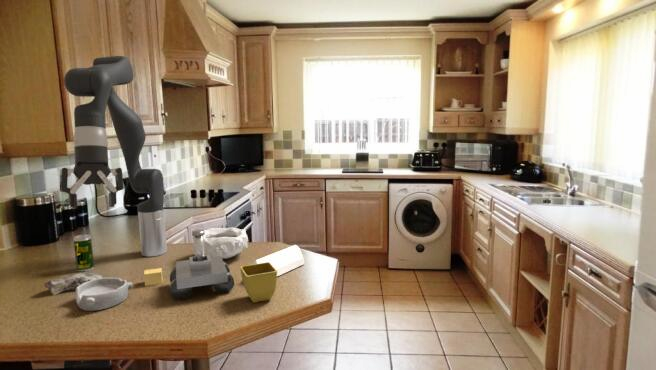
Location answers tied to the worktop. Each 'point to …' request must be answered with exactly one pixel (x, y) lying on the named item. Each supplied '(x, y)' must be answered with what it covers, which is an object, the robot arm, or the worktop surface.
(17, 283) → the worktop surface
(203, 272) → the dolly
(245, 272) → the flower pot
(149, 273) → the pale yellow block
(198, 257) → the pin
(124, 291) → the dish
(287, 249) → the white faceted prism
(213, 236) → the bowl
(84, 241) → the beer can
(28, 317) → the worktop surface
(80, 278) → the mineral rock
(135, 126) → the robot arm
